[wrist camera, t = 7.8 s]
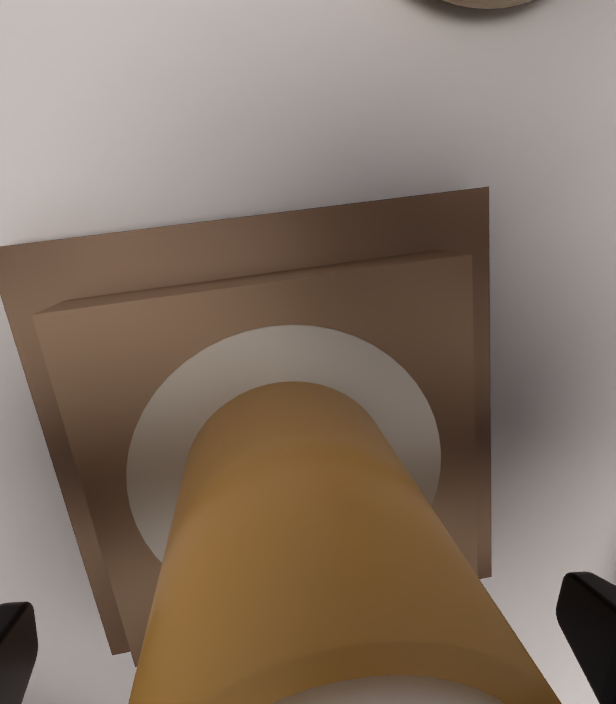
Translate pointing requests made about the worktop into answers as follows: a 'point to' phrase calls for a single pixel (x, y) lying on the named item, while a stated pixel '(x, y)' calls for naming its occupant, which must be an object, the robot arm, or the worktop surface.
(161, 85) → the worktop surface
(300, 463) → the amber jar
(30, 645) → the robot arm
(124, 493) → the walnut plinth
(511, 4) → the stacking toy
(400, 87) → the worktop surface
